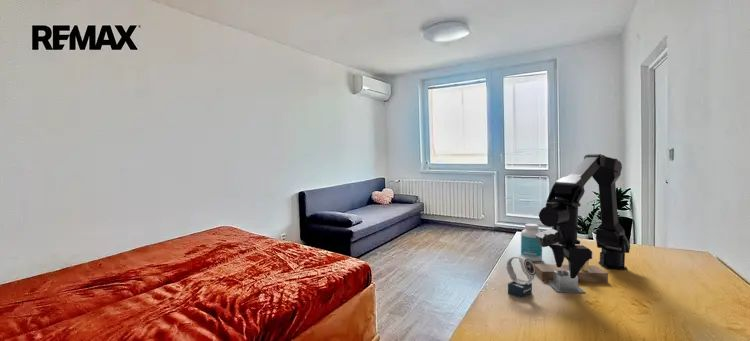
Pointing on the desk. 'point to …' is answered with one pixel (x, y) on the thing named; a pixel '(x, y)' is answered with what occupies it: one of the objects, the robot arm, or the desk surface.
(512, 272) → the watch
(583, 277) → the body
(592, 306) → the desk surface
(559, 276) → the grey knobbed cube
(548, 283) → the pad
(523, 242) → the pill bottle
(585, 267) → the tan wooden flat block
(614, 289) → the desk surface
